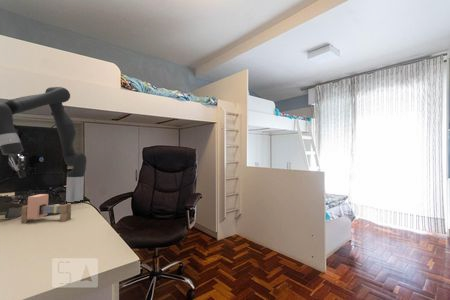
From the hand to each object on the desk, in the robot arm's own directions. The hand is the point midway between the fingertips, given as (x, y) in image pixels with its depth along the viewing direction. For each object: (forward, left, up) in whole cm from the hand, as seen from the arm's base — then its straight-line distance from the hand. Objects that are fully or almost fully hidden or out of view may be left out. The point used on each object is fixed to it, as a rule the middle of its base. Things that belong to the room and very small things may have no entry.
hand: (23, 177), depth 103 cm
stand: (+6, +15, -20) cm, 26 cm away
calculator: (-6, +6, -21) cm, 23 cm away
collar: (+6, +11, -18) cm, 22 cm away
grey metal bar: (+6, +15, -16) cm, 23 cm away
